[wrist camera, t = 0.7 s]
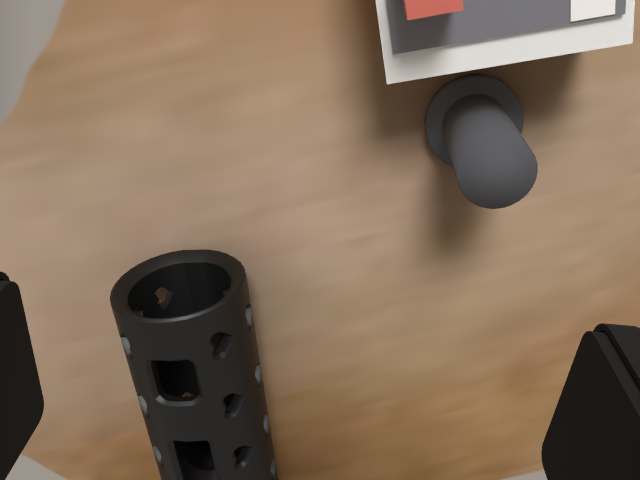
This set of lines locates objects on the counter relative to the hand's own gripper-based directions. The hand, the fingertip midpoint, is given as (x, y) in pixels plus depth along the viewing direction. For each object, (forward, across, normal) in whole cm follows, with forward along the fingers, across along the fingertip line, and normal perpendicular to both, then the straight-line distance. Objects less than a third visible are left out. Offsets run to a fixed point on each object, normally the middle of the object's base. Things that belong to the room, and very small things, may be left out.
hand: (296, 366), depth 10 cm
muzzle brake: (+31, +7, +30) cm, 43 cm away
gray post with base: (+30, -9, +5) cm, 32 cm away
